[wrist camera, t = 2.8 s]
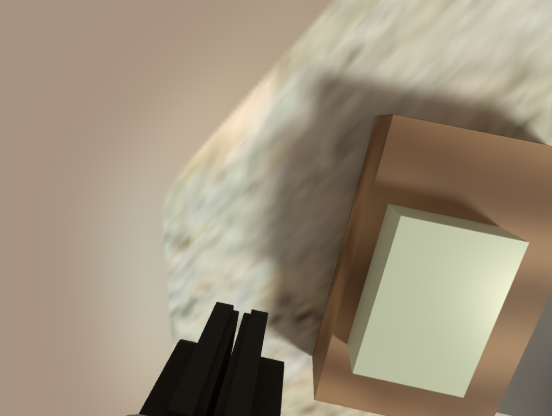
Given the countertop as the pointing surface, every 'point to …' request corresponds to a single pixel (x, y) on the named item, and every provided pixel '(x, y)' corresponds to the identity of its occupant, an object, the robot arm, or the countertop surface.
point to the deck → (455, 203)
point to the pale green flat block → (431, 299)
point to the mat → (533, 373)
